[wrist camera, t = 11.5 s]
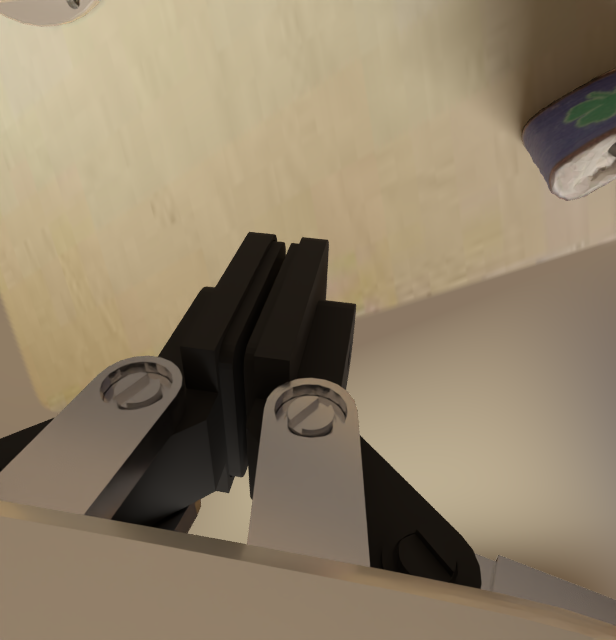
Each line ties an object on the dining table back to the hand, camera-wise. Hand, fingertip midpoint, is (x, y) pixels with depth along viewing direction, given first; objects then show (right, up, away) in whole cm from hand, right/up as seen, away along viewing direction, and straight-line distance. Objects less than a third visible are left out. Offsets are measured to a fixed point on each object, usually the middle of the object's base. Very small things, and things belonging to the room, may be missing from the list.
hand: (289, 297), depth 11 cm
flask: (+18, +13, +21) cm, 31 cm away
